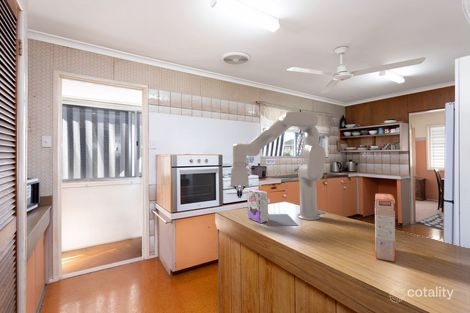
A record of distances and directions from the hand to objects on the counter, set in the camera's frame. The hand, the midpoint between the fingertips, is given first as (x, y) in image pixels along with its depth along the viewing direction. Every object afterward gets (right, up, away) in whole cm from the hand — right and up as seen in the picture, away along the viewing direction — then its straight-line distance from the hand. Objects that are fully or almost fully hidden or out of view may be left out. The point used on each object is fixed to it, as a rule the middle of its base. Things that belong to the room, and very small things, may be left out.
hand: (239, 197), depth 131 cm
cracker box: (+52, -12, -48) cm, 71 cm away
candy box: (+10, -13, 0) cm, 17 cm away
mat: (+22, -13, 0) cm, 25 cm away
